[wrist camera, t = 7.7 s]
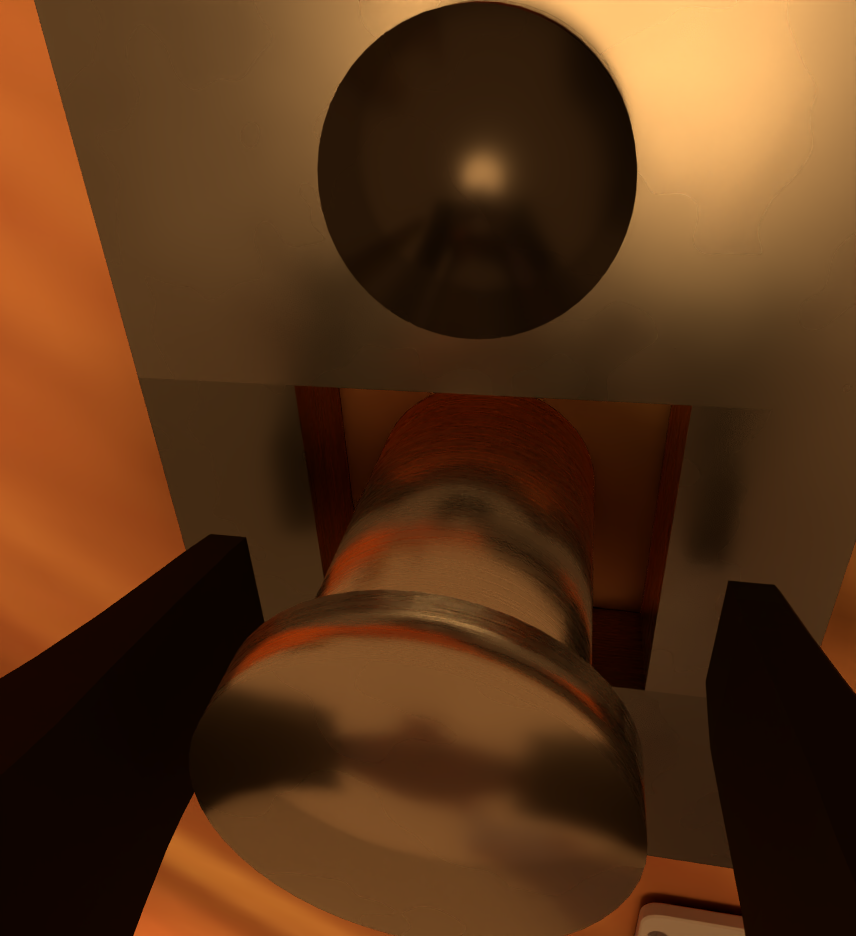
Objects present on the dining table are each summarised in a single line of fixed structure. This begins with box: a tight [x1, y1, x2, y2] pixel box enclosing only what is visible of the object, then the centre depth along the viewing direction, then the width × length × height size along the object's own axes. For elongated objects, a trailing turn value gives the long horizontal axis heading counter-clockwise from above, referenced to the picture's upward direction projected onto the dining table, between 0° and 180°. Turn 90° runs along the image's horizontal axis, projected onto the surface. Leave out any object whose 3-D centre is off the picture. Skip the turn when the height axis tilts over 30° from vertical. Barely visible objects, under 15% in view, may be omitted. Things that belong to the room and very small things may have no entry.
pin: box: [189, 393, 648, 936], centre depth 11 cm, size 5×5×7 cm
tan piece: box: [34, 0, 856, 868], centre depth 13 cm, size 16×11×3 cm
